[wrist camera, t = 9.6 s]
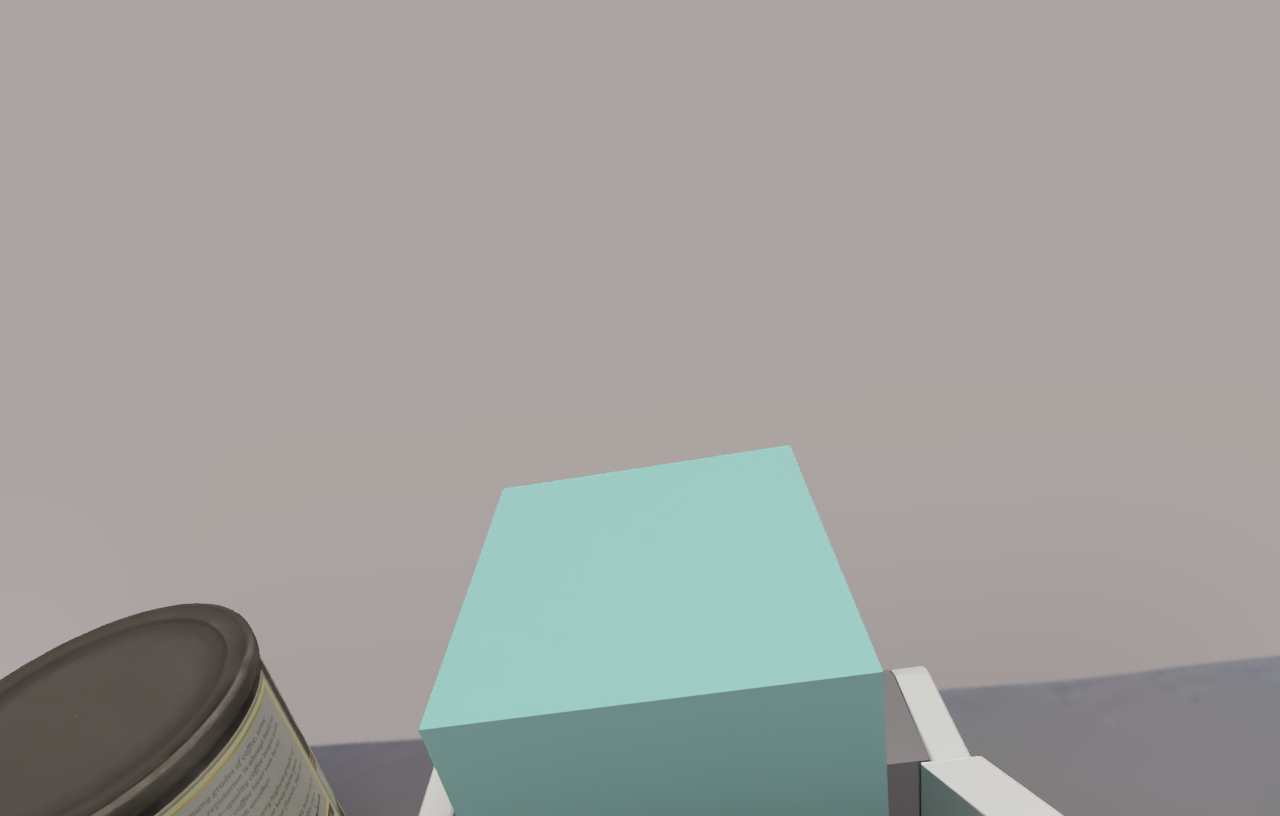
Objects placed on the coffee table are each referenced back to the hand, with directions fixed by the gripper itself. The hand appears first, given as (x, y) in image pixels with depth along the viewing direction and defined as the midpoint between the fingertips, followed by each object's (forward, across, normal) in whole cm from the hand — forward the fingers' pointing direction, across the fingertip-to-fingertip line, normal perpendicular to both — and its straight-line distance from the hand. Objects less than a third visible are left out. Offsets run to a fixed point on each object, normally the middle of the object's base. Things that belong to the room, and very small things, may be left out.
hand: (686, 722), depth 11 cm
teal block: (-1, 0, +5) cm, 5 cm away
